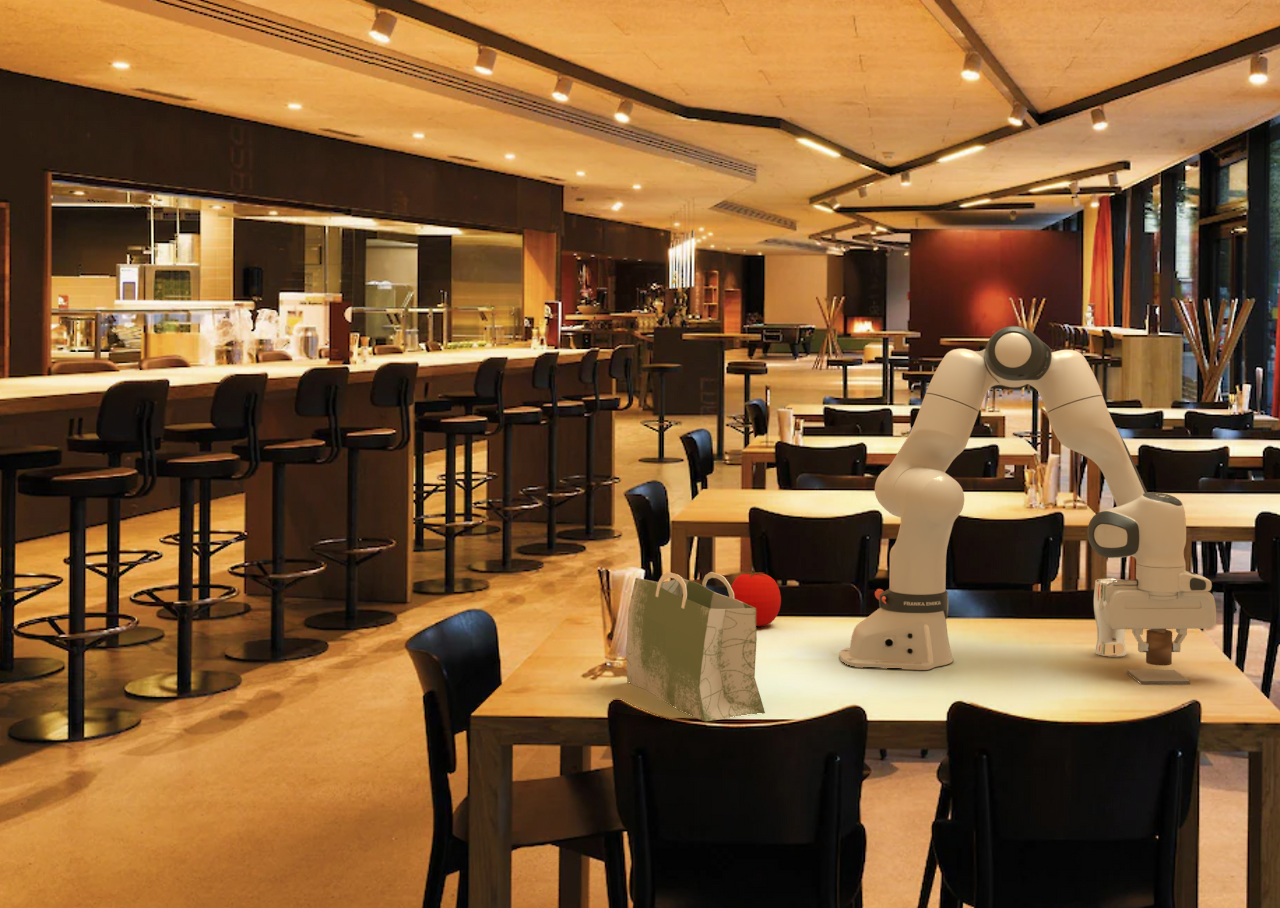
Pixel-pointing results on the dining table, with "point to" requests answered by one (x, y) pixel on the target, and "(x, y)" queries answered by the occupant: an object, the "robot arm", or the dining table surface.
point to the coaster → (1158, 677)
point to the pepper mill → (1159, 647)
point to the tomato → (758, 595)
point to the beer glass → (1107, 638)
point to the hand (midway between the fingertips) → (1159, 651)
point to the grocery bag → (693, 647)
